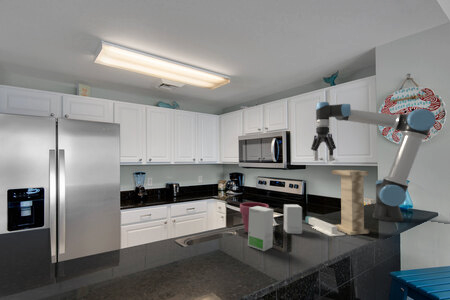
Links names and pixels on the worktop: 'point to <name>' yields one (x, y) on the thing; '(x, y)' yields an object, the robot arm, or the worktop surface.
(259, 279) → the worktop surface
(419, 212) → the worktop surface
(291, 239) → the worktop surface
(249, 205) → the plant pot
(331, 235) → the notepad
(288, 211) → the supplement box
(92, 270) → the worktop surface
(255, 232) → the skincare box
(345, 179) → the stand
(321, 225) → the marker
